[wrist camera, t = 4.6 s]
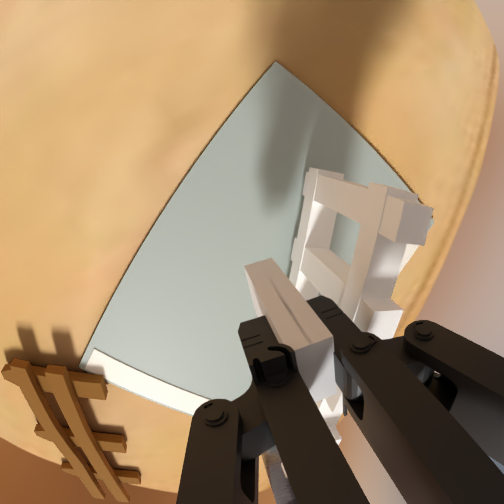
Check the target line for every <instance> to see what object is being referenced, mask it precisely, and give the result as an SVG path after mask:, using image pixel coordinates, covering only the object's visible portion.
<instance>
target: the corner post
mask: <svg viewBox="0 0 504 504" xmlns="http://www.w3.org/2000/svg"><path fill="white" fill-rule="evenodd" d="M261 455H262V459H263V462H264V465H265V468H266V472H267V475H268V478H269V481H270V485H271V488H272V491H273V494H274V497H275V500H276V503H277V504H298V503H297V501H296V498H295V495H294V493H293V490H292V488H291V485H290V482H289V480H288V477H287V478H286V477H285V474H284V472H283V469H282V466H281V463H282V461H281V458H280V455H279V453H278V450H277V447H276V445H275V446H273V447H272V448H270V449H269V450H267V451H266V452H264V453H263V454H261Z"/></svg>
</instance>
